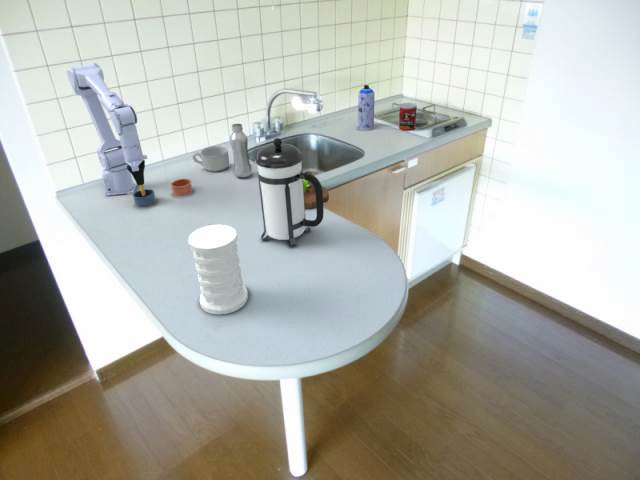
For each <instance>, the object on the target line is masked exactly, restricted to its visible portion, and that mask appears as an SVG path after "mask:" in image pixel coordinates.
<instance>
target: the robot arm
mask: <svg viewBox="0 0 640 480" xmlns="http://www.w3.org/2000/svg"><path fill="white" fill-rule="evenodd" d="M66 74H67V78H68V82H69V83H70V87H71V88H72V91H73V92H74V94H75V95H77V96H80V97H81V98H82V101H83V102H84V104H85V107H86V109H87V111H88V114H89V116H90V119H91V121H92V123H93V125H94V127H95V130H96V132H97V135H98V137H99V140H100V142H101V143H100V145H99V146H98V148H97V149H96V154H97V156H98V160H99V164H100V165H101V167H102V168H103V169H102V170H101V178H102V182H103V185H104V188H105V191H106V196H109V197H110V196H117V195H126V194H131V193H135V190H136V188H137V186H140V185H143V186H145V169H146V160H147V159H148V155H147V154H145V155H144V153H143V149H142V145H141V142H140V137H139V133H138V130H137V126H136V124H138V116H137V113H136V111H135V109H134V107H133V106H132V105H130V104H128V103H125V101H123V100H122V99H121V98H120V96H119V95H118V94H117V93H116V92H114V91H111V90H110V88H109V87H108V85H107V84H106V83H105V76H104V71H103V69H102V67H101V65H99V64H98V63H97V62H94V63H90V64H84V65H78V66H72V67H71V66H68V67H67V70H66ZM99 98H100V99H99ZM104 109H105V110H106V112H107V113H108V115H110V116H109V117H110V120H111V122H112V124H113V127H114V129H115V132H116V134H118V137H119V139H118V138H116V136H115V133H114V131H113V129H112V126H111V124H110V122H109V120H108V119H109V118H108V117H107V114H106V113H105V110H104ZM134 181H135V183H134Z"/></svg>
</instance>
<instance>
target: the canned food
mask: <svg viewBox="0 0 640 480" xmlns="http://www.w3.org/2000/svg"><path fill="white" fill-rule="evenodd" d="M417 107H418V105H417V104H416V103H414V102H404V103H403V102H402V103H400V104H399V114H398V115H399V116H398V117H399V119H398V128H399V130H401V131H404V132H405V131H406V132H410V131H414V130H415V128H416V123H417V121H416V120H417V109H418V108H417Z"/></svg>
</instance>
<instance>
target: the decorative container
mask: <svg viewBox="0 0 640 480" xmlns="http://www.w3.org/2000/svg"><path fill="white" fill-rule="evenodd" d="M238 240H239V239H238V232H237V230H236V228H234V227H233V226H231V225H227V224H217V223H215V224H209V225H205V226H202V227H199V228H197V229H195V230H193V231H192V233H190V234H189V236H188V238H187V242H188V247H189V248H190V250H192V258H193V259H194V261H195V266H194V267H195V270H196V272H197V280H198V282H199V284H200V285H199V290H200V295H199V304H200V307H201V309H202V310H203V311H204V312H206V313H208V314H212V315H227V314H231V313H234V312H236V311H238V310H240V309H241V308H242V307H244V306H245V304H246V303H247V301H248V299H249V294H248V293H249V292H248V289H247V287H246V286H245V285H244V281H243V277H242V269H241V266H240V256H239V255H238V251H239V250H238V249H239V248H238V245H237V242H238Z"/></svg>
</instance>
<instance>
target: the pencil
mask: <svg viewBox="0 0 640 480" xmlns="http://www.w3.org/2000/svg"><path fill="white" fill-rule="evenodd" d="M145 189H146V188H145V185H139V190H141V193H142V196H146V193H145Z"/></svg>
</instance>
